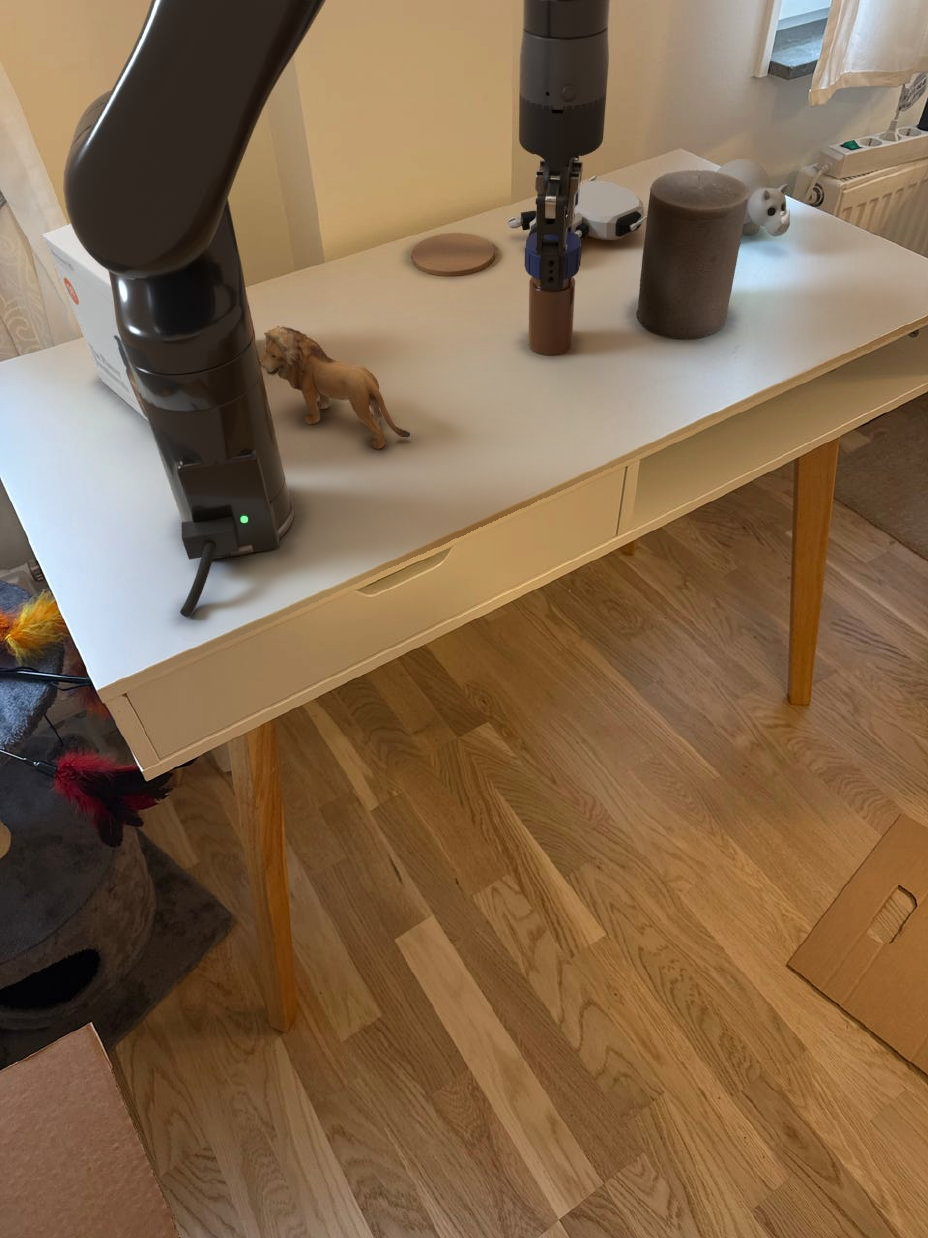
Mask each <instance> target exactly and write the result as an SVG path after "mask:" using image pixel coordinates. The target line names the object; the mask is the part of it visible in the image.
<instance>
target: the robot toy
mask: <svg viewBox="0 0 928 1238" xmlns="http://www.w3.org/2000/svg"><path fill="white" fill-rule="evenodd" d="M597 178H598V175H593V176H592V177H591V178H590V179H589V180H587V181H585V182H584V183H582V184H580V194H579V200H578V205H577V206H575V211H574V213H575V218H574V222H573V224H572V230H571V233H574V234H575V235H577V236H578V237H579V238H580V240H583V239H585V238H586V237H587V236H588V237H589V238H594V239H598V240H603V241H606V240H607V241H617V240H621V239H623V238H624V237H626V235H628V234H631V233H633V232H636V231H637V230H639V229H640V228H641V227H642V225H643V223H644V222H645V221H647V215H645V216H644V208H645V207H644V202H643V201H642V200H641V198H639V196H637V195H636V194H635V193H634V192H632V191H631V190H630V189H629V188H627V187H624V186H621V185H619V184H616V183H613V182H609V181H606V180H597ZM507 225H508V227H509V228H510V229H518V228H520V227H521V228H522V231H529V233H528V236H527V238H528V237H529V236H530V235H531V234H533V233H536V232H537V223H536V210H534V209H533V210H528V211H523V212H522V211H521V212H520V217H519V216H512V217H509V219H508V220H507Z"/></svg>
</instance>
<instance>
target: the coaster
mask: <svg viewBox="0 0 928 1238" xmlns="http://www.w3.org/2000/svg"><path fill="white" fill-rule="evenodd" d="M494 259H495V248H494V246H493V244H492V243H491V242H490V241H489V240H487V239H485V238H483V237H482V236H478V235H474V234H469V233H461V232H458V233H457V232H456V233H455V232H452V233H444V234H437V235H434V236H430V237H428V238H424V239H423V240H421V241H419V242H418V243H417V244H415V245H414V247H413V248H412V250H411V261H412V263H413V265H414V266H415V267H416V268H417V269H419V270H420V271H422V272H425V273H427V274H431V275H435V276H442V277H456V276H465V275H469V274H473V273H476V272H479V271H482V270H483V269H485V268H487V267H488V266H489V265H491V263H492V262H493V261H494Z"/></svg>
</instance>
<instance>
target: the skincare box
mask: <svg viewBox="0 0 928 1238" xmlns="http://www.w3.org/2000/svg"><path fill="white" fill-rule="evenodd" d="M42 237H43V239H44V241H45V245H46V246H47V249H48V251H49V255H50V256H51V260H52V261H53V265H54V266H55V269H56V271H57V274H58V276H59V279H60V281H61V284H62V286H63V289H64V291H65V294H66V296H67V298H68V301H69V304H70V306H71V308H72V311H73V313H74V316H75V319H76V321H77V323H78V327H79V328H80V331H81V333H82V336H83V338H84V341H85V343H86V345H87V348H88V351H89V353H90V355H91V358H92V361H93V363H94V366H95V368H96V371H97V373H98V375H99V378H100V380H101V382H103V383H104V384H105V385H106V386H107V387H108V388H110V390H111V391H113V392H114V393H115V394H116V395H118V396H119V397H120V398H121V399H122V400H123V401H125V403H127V404H128V405H129V406H130V408H132V409H133V410H135V412H137V413H138V414H139V415H140V416H142V417H143V418H144V419H145V420H146V421H147V422H148V419H147V416H146V413H145V410H144V407H143V404H142V401H141V398H140V395H139V391H138V388H137V385H136V382H135V379H134V376H133V373H132V371H131V368H130V365H129V362H128V359H127V355H126V353H125V350H124V347H123V344H122V341H121V338H120V335H119V332H118V328H117V324H116V317H115V308H114V300H113V293H112V287H111V282H110V277H109V272H108V270H107V269H105V268H104V267H102V266H101V265H100V264H99V263H98V262H97V261H95V260H94V259H93V258H92V257H91V256H90V255H89V253H88V252H87V251H86V250H85V248H84V247H83V246H82V244H81V243H80V241H79V240H78V238H77V236H76V234H75V232H74V230H73V228H72V225H71V223H68V224H66V225H63V226H61V227H58V228H56V229H53V230H50V231H48V232H45V233H42Z"/></svg>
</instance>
